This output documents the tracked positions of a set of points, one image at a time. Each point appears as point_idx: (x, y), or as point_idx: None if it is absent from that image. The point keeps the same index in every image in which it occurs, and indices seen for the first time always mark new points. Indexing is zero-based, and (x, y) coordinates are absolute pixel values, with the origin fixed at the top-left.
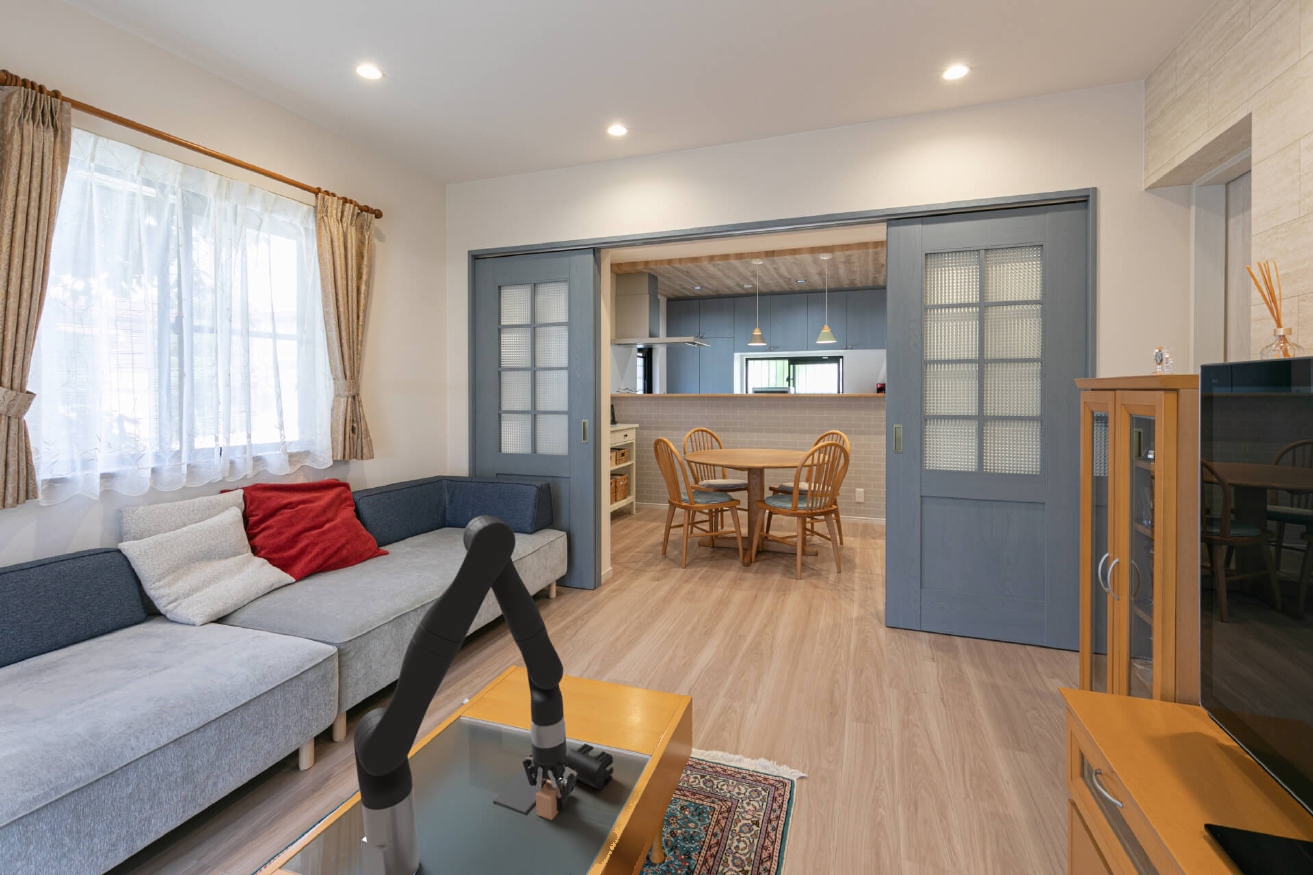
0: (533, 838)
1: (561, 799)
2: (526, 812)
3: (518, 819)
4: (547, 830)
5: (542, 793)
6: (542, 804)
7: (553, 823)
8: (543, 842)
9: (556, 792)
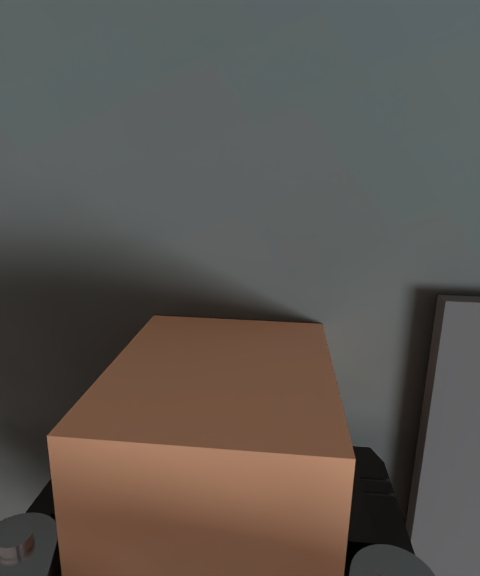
0: (172, 45)
1: (46, 503)
2: (435, 312)
3: (468, 205)
4: (112, 193)
5: (251, 503)
6: (231, 377)
7: (115, 286)
8: (51, 43)
9: (39, 572)
